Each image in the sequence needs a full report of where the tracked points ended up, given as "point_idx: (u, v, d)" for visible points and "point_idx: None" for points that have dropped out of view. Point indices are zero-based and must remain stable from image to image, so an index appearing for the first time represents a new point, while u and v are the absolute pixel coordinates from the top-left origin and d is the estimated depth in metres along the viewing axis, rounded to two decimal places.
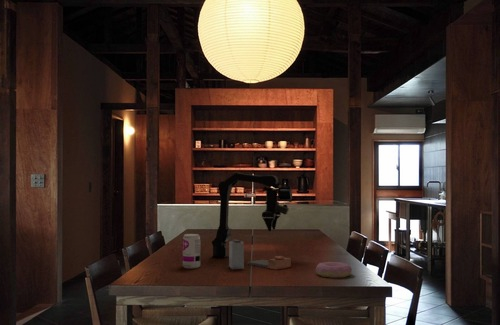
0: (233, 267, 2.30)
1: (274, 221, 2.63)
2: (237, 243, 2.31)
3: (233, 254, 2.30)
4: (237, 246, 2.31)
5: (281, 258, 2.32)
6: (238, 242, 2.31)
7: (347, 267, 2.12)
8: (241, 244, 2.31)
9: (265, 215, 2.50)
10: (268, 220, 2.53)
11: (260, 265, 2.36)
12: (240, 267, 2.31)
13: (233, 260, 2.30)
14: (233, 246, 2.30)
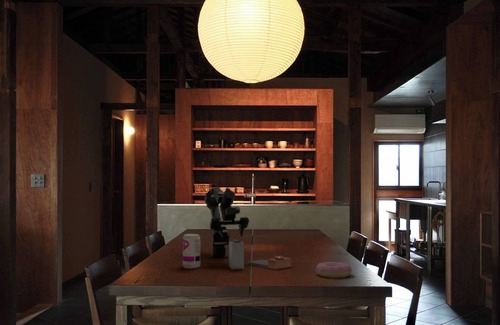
0: (233, 267, 2.30)
1: (240, 229, 2.45)
2: (237, 243, 2.31)
3: (233, 254, 2.30)
4: (237, 246, 2.31)
5: (281, 258, 2.32)
6: (238, 242, 2.31)
7: (347, 267, 2.12)
8: (241, 244, 2.31)
9: (210, 225, 2.45)
10: (218, 228, 2.44)
11: (260, 265, 2.36)
12: (240, 267, 2.31)
13: (233, 260, 2.30)
14: (233, 246, 2.30)
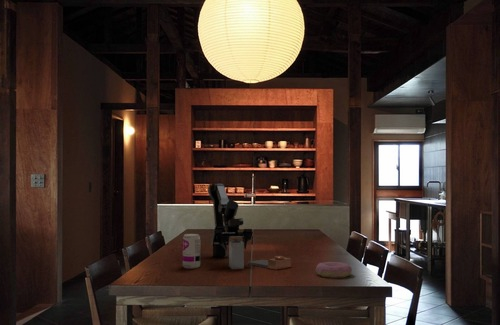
0: (233, 267, 2.30)
1: (244, 241, 2.38)
2: (237, 243, 2.31)
3: (233, 254, 2.30)
4: (237, 246, 2.31)
5: (281, 258, 2.32)
6: (238, 242, 2.31)
7: (347, 267, 2.12)
8: (241, 244, 2.31)
9: (213, 237, 2.38)
10: (221, 240, 2.37)
11: (260, 265, 2.36)
12: (240, 267, 2.31)
13: (233, 260, 2.30)
14: (233, 246, 2.30)
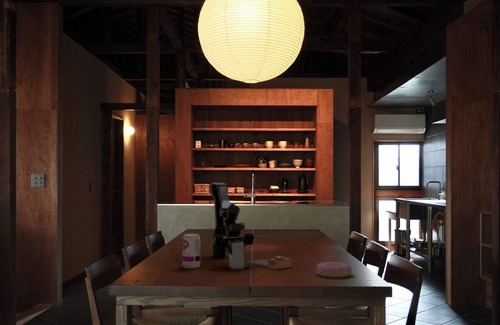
0: (233, 267, 2.30)
1: None
2: (237, 243, 2.31)
3: (233, 254, 2.30)
4: (237, 246, 2.31)
5: (281, 258, 2.32)
6: (238, 242, 2.31)
7: (347, 267, 2.12)
8: (241, 244, 2.31)
9: (214, 241, 2.36)
10: (226, 245, 2.35)
11: (260, 265, 2.36)
12: (240, 267, 2.31)
13: (233, 260, 2.30)
14: (233, 246, 2.30)
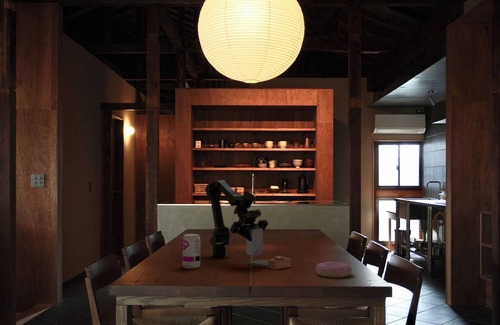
0: (253, 253, 2.34)
1: None
2: (257, 229, 2.35)
3: (253, 240, 2.34)
4: (257, 232, 2.35)
5: (281, 258, 2.32)
6: (258, 228, 2.35)
7: (347, 267, 2.12)
8: (260, 231, 2.36)
9: (231, 229, 2.37)
10: (243, 232, 2.38)
11: (260, 265, 2.36)
12: (259, 253, 2.36)
13: (253, 246, 2.34)
14: (253, 232, 2.34)
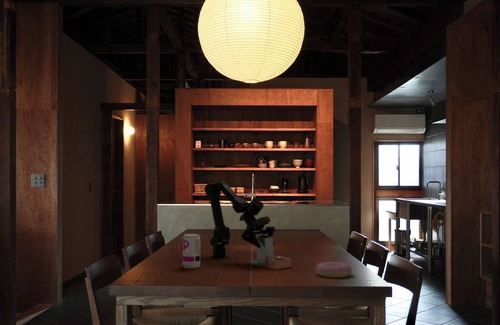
0: (266, 261, 2.38)
1: None
2: (268, 238, 2.39)
3: (265, 249, 2.38)
4: (268, 241, 2.39)
5: (281, 258, 2.32)
6: (269, 237, 2.39)
7: (347, 267, 2.12)
8: (271, 239, 2.40)
9: (243, 236, 2.39)
10: (252, 239, 2.39)
11: (260, 265, 2.36)
12: None
13: (266, 254, 2.38)
14: (265, 241, 2.38)
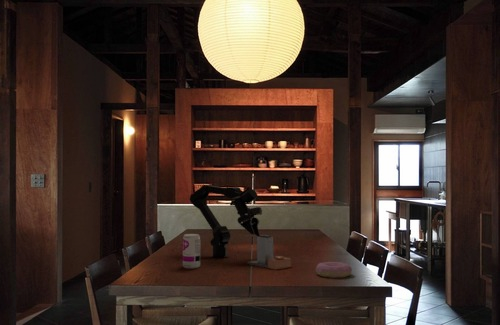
0: (266, 261, 2.38)
1: (255, 228, 2.58)
2: (268, 238, 2.39)
3: (265, 249, 2.38)
4: (268, 241, 2.39)
5: (281, 258, 2.32)
6: (269, 237, 2.39)
7: (347, 267, 2.12)
8: (271, 239, 2.40)
9: (241, 219, 2.47)
10: (247, 224, 2.49)
11: (260, 265, 2.36)
12: None
13: (266, 254, 2.38)
14: (265, 241, 2.38)
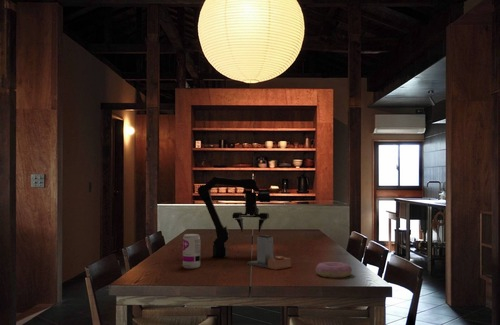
0: (266, 261, 2.38)
1: (242, 223, 2.68)
2: (268, 238, 2.39)
3: (265, 249, 2.38)
4: (268, 241, 2.39)
5: (281, 258, 2.32)
6: (269, 237, 2.39)
7: (347, 267, 2.12)
8: (271, 239, 2.40)
9: (267, 216, 2.63)
10: None
11: (260, 265, 2.36)
12: None
13: (266, 254, 2.38)
14: (265, 241, 2.38)
